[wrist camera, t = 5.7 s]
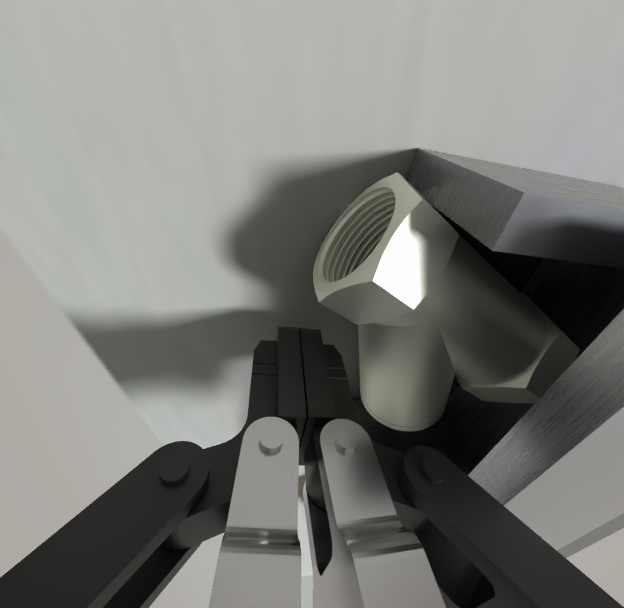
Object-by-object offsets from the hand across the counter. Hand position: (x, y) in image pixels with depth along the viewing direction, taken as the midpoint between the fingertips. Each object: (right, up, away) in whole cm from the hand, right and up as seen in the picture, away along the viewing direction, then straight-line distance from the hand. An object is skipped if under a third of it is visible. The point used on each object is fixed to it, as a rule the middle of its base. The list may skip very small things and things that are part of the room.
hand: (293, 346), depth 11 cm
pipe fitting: (+4, +2, +1) cm, 4 cm away
